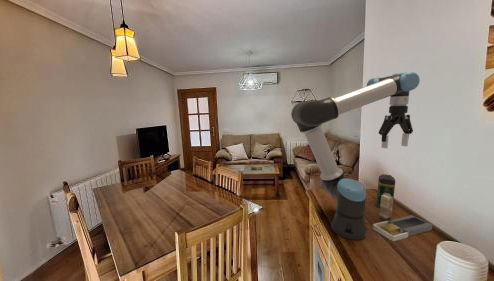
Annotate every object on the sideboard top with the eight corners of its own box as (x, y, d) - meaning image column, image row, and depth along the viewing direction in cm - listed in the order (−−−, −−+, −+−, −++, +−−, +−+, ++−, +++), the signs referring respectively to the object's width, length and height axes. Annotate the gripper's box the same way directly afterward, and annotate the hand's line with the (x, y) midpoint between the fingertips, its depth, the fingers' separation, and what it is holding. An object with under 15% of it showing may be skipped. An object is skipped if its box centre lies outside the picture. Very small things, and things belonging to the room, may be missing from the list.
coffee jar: (375, 201, 123) (378, 172, 120) (391, 204, 120) (394, 174, 117) (376, 208, 115) (379, 177, 112) (393, 211, 111) (397, 179, 108)
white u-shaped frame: (392, 242, 86) (393, 237, 86) (372, 229, 96) (372, 224, 95) (407, 238, 89) (408, 233, 88) (386, 225, 98) (386, 221, 98)
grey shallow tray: (406, 237, 89) (407, 231, 89) (387, 226, 98) (387, 220, 97) (431, 230, 94) (432, 224, 93) (411, 220, 102) (411, 215, 102)
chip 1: (389, 236, 90) (390, 230, 89) (381, 231, 93) (382, 225, 93) (394, 235, 90) (395, 229, 90) (386, 230, 94) (387, 224, 94)
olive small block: (394, 235, 90) (395, 229, 90) (386, 230, 94) (387, 224, 94) (399, 234, 91) (400, 228, 91) (391, 229, 95) (392, 223, 95)
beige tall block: (385, 222, 101) (388, 198, 99) (379, 218, 104) (381, 195, 102) (390, 221, 102) (393, 197, 100) (384, 217, 105) (386, 194, 103)
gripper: (386, 105, 94) (382, 150, 97) (424, 104, 100) (419, 146, 104) (372, 106, 101) (369, 147, 104) (409, 104, 107) (405, 143, 111)
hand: (394, 147), depth 104 cm, fingers open, 13 cm apart
